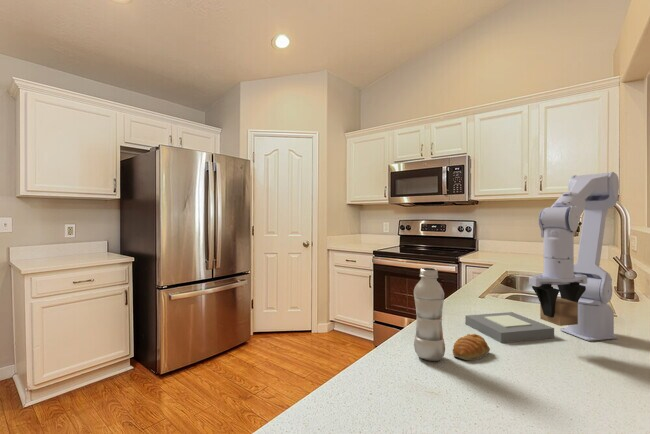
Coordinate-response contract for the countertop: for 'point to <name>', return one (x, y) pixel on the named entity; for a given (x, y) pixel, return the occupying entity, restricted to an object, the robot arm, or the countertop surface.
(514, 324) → the slate board
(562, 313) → the walnut cube
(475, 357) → the pastry
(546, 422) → the countertop surface
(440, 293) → the plastic bottle
